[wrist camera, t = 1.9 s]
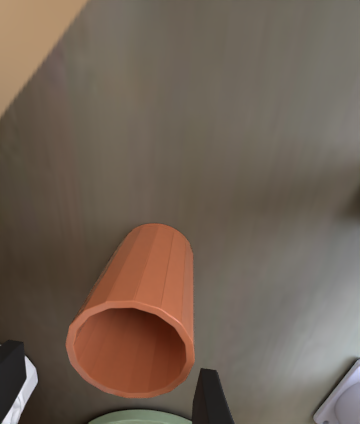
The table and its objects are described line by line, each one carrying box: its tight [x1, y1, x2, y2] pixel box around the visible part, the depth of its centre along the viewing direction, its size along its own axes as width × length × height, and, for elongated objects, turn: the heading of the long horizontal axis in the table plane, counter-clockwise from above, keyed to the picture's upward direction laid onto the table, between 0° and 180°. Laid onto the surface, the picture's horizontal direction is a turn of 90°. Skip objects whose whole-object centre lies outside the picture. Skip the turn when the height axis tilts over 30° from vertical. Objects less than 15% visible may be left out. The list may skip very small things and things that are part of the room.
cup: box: [65, 223, 195, 398], centre depth 14 cm, size 5×5×8 cm
